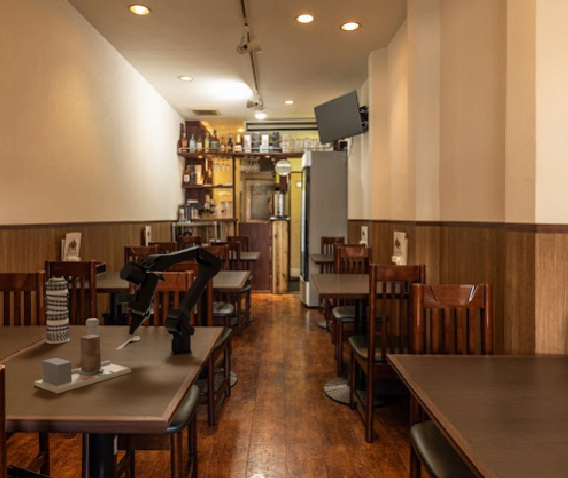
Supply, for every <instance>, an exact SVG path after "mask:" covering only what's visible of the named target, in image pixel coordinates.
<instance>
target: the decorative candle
mask: <svg viewBox="0 0 568 478" xmlns="http://www.w3.org/2000/svg"><path fill="white" fill-rule="evenodd" d="M45 284H46V290H45V291H46V292H45V297H44V304H45V307H44V310H45V314H46V324H45V327H46V329H45V330H46V334H45V336H46V338H45V340H46V344H51V345H52V344H54V345H55V344H63V343H67V342H70V332H71V331H69V329H70V326H69V325H70V322H69V317H68V316H69V314H68V313H70V312H69V309H68V307H70V304H69V303H70V301H69V300H68V299H69V298H71V296H70V295H69V294H70V293H71V292H70V291H68V281H67V280H66V279H65V278H63V277H54V278H49V279H48V280H47V282H45Z"/></svg>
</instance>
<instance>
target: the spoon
mask: <svg viewBox="0 0 568 478" xmlns="http://www.w3.org/2000/svg"><path fill="white" fill-rule="evenodd" d="M140 340H141V337H140V336H139V335H136V336H133V337H131V338H130V339H128V340H127V341H126V342H124V343H122V344H121V345H119V346H118V347H116V350H121V349H123V348H124V347H125V346H126V345H127V344H128V343H129V342H134V343H136V342H138V341H140Z"/></svg>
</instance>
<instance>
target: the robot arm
mask: <svg viewBox="0 0 568 478" xmlns="http://www.w3.org/2000/svg"><path fill="white" fill-rule="evenodd" d="M190 260H194V261H195V263H196V264H198V266H197V274H196V277H195V278H194V280H193V282H192V283H191V285H190V287H189V288H188V290H187V292H186V293H185V295H184V297H183V298H182V300H181V302H180V304H179V305H178V306H177V307H170V309H169V310H168V313H167V314H166V315H165V317H164V318H165V319H164V327H165V328H166V330H167V332H168V335H171V338H170V341H169V343H170V351H171V353H173V354H172V355H179V354H180V355H181V354H188V353H192V352H193V351H192V347H191V346H192V345H191V342H192V339H191V336H194V334H195V328H194V327H193V325H191V321H192V311H193V310H194V308H195V306H196V304H197V303H198V301H199V299H200V297H201V296H202V294H203V292H204V290H205V289H206V287H207V286H208V284H209V282H210V281H211V280H212V279H213V278H215V277H216V276H217V275H218V274H219V272H221V271H222V268H223V261H222V259H221V258H220V257H219V256H216V255H215V254H214V253H212V252H210V251H208V250H207V249H206V248H204V247H202V246H192V247H188V248H185V249H182V250H177V251H174V252H170V253H165V254H164V253H160V254H159V253H157V254H149V255H147V256H146V258H145V260H143V261H142V262H141V263H137V262H135V261H134V260H128V261H127V263H126V264H125V265H124V266H123V267H122V268H121V269H120V271H119V278H120V280H123V281H125V282H127V283H130V284H131V285H134V286H138V287H137V289H135V291H134V292H132V293H131V292H128V291H127V289H120V292H119V293H116V304H117V305H118V306H119V305H120V306H121V305H127V307H126V308H127V310H128V309H129V310H128V314H129V316H130V323H129V324H130V325H129V331H128V334H129V335H130V336H133V335H134V334H135V333H136V331H137V330H138V329H139V328H140V327H141V326H142V324H144V322H145V321H146V320H147V319H149V318H150V315H151V312H150V309H151V305H152V301H153V299H154V297H155V294H156V291H157V289H158V288H157V287H158V285H159V282H165V281H166V280H165V277H164V275H163V274H162V273H163V272H165V271H167V270H169V269H170V268H172V267H173V266H174V265H176V264H180V263H183V262H188V261H190ZM155 272H158V273H155ZM130 309H131V310H130Z"/></svg>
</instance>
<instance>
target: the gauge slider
mask: <svg viewBox="0 0 568 478" xmlns="http://www.w3.org/2000/svg"><path fill="white" fill-rule="evenodd" d="M100 343H101V336H100V335H99V336H97V335H88V336H86V335H84V336H80V368H81V369H78V368H77V369H78V372H79V373H82V374H86V375H89V376H90V375H93V374H97V373H100V374H103V372H104V369H102V368H101V360H102V359H101V351H100Z"/></svg>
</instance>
